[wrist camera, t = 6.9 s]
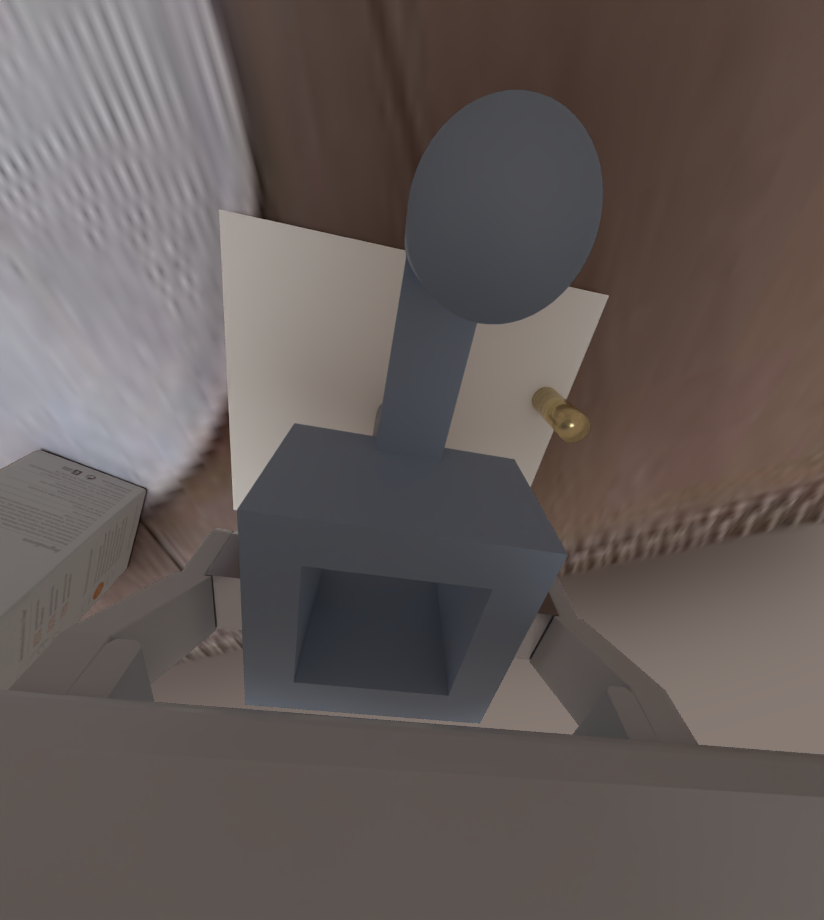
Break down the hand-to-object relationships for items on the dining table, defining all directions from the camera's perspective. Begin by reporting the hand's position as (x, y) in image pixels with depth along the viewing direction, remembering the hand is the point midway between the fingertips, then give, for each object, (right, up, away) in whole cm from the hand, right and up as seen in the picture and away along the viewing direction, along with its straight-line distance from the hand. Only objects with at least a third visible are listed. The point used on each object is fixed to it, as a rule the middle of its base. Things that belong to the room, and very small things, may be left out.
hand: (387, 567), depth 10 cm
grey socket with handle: (+1, +3, 0) cm, 3 cm away
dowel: (+8, +6, +10) cm, 14 cm away
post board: (0, +6, +11) cm, 13 cm away
